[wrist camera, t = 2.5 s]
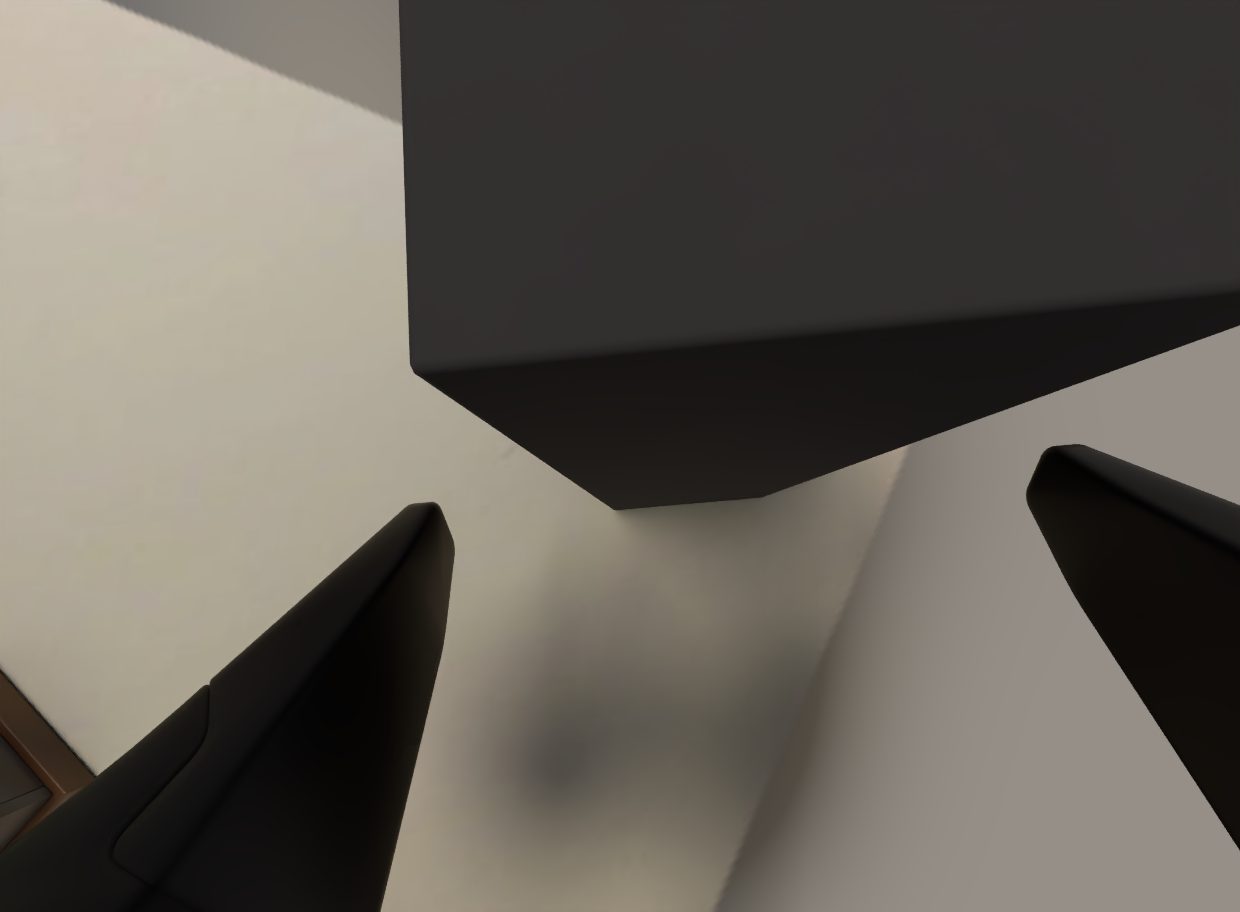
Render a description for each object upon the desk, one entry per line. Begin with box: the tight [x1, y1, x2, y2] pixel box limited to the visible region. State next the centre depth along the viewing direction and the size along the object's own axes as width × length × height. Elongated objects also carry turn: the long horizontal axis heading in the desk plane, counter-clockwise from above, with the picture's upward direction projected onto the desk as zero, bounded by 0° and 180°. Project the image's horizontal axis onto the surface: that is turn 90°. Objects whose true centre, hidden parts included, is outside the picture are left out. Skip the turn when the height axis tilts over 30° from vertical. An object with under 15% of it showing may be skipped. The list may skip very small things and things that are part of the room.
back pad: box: [399, 0, 1240, 510], centre depth 11 cm, size 3×5×16 cm, turn 95°
